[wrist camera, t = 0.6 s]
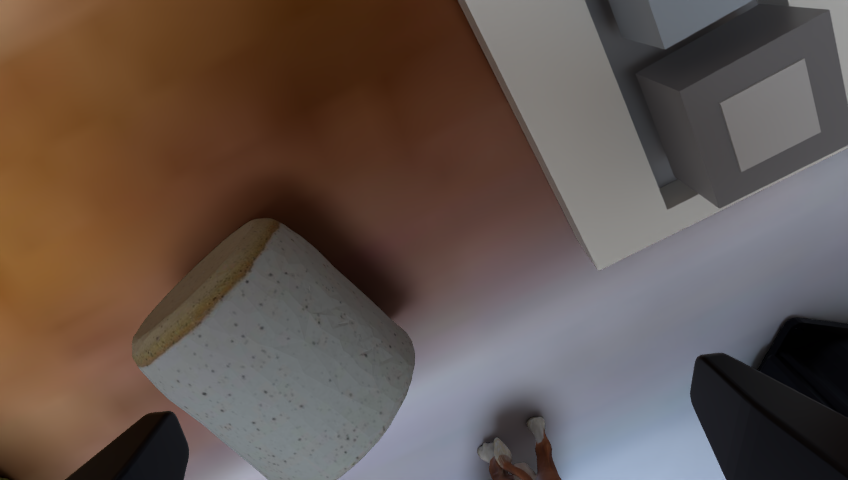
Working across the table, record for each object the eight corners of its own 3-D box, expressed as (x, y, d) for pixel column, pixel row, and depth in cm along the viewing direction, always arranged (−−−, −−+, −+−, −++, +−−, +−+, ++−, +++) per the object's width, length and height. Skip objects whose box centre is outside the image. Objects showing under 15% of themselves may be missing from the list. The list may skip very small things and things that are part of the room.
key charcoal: (788, 117, 19) (857, 142, 16) (674, 176, 19) (720, 209, 17) (759, 3, 17) (831, 9, 14) (635, 73, 18) (680, 91, 15)
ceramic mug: (282, 176, 21) (225, 277, 14) (416, 303, 24) (423, 437, 17) (121, 321, 24) (10, 463, 17) (259, 419, 27) (212, 572, 20)
